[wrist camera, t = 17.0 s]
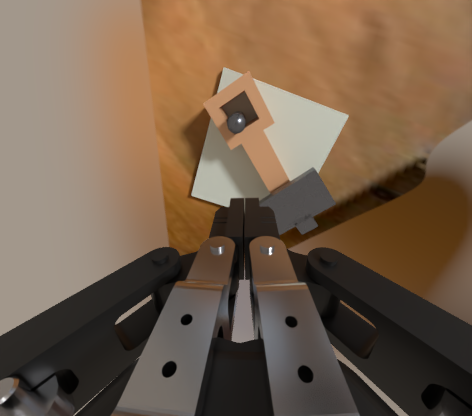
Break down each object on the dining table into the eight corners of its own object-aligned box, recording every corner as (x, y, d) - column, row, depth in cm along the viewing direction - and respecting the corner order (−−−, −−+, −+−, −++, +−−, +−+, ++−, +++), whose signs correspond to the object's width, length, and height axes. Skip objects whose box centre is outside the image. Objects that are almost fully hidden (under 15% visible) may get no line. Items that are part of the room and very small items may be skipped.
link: (299, 176, 31) (305, 185, 28) (263, 194, 33) (265, 206, 29) (248, 74, 26) (248, 70, 22) (208, 103, 27) (202, 103, 24)
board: (224, 68, 26) (223, 67, 26) (345, 114, 28) (348, 115, 27) (192, 193, 34) (190, 195, 34) (288, 223, 36) (289, 226, 35)
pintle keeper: (233, 108, 29) (230, 111, 22) (339, 147, 30) (363, 159, 24) (208, 194, 34) (200, 215, 28) (297, 222, 36) (308, 248, 30)
